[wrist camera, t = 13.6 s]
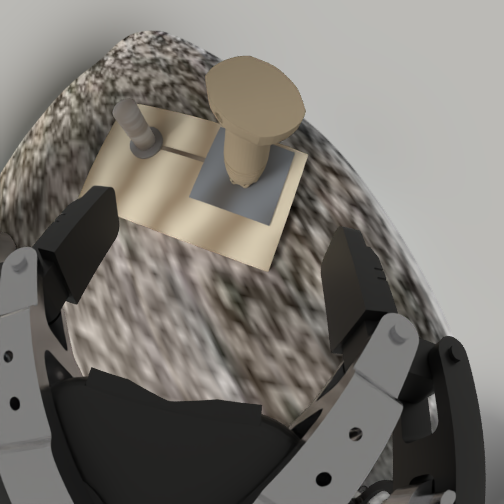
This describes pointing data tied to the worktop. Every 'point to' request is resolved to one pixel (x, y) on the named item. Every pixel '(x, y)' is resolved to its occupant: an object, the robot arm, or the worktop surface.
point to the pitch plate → (194, 183)
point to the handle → (252, 113)
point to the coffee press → (372, 491)
